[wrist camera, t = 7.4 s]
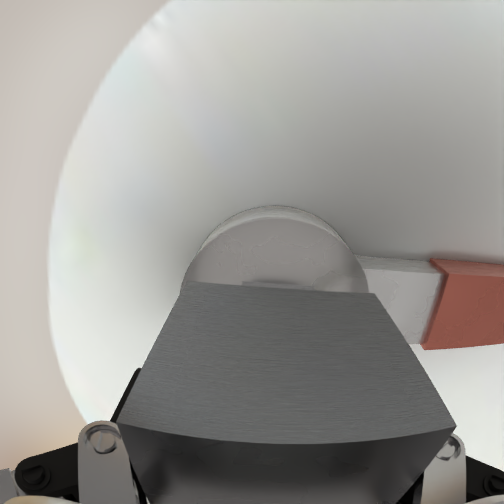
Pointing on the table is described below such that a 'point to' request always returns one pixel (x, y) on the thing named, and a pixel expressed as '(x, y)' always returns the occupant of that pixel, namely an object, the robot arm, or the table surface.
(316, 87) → the table surface
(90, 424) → the robot arm
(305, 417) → the brushed grey cube
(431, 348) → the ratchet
